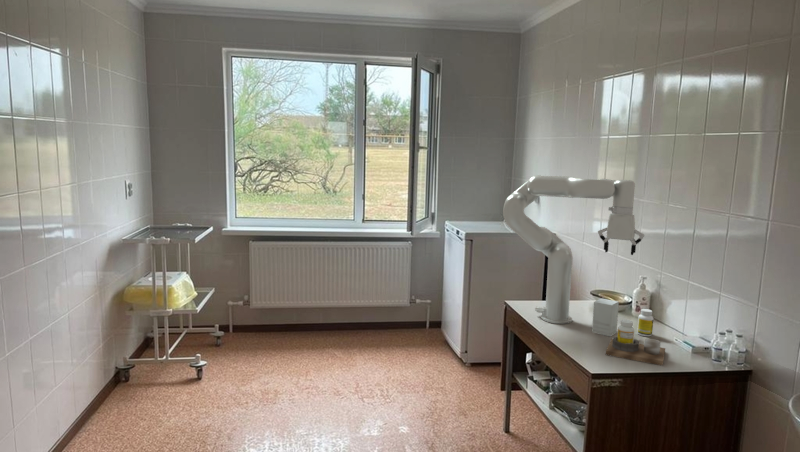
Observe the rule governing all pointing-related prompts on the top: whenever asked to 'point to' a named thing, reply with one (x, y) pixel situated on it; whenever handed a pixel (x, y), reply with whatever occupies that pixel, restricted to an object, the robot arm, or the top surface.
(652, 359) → the carrier plate
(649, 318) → the supplement bottle
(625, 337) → the supplement bottle
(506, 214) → the robot arm
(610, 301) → the supplement box
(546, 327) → the top surface
